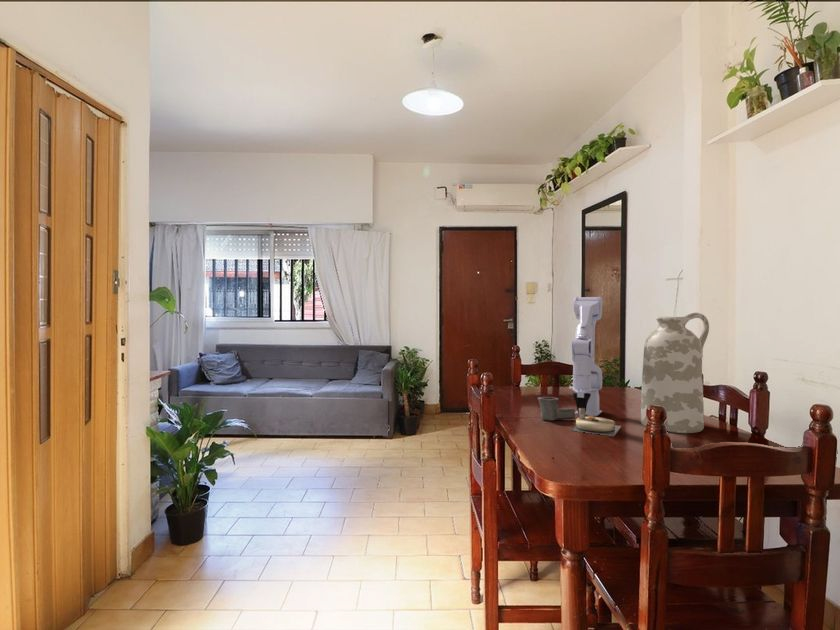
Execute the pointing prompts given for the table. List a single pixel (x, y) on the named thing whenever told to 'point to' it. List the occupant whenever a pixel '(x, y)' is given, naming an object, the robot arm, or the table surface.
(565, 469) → the table surface
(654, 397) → the vase
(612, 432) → the base plate
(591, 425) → the beige low round piece
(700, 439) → the table surface
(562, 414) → the pipe
